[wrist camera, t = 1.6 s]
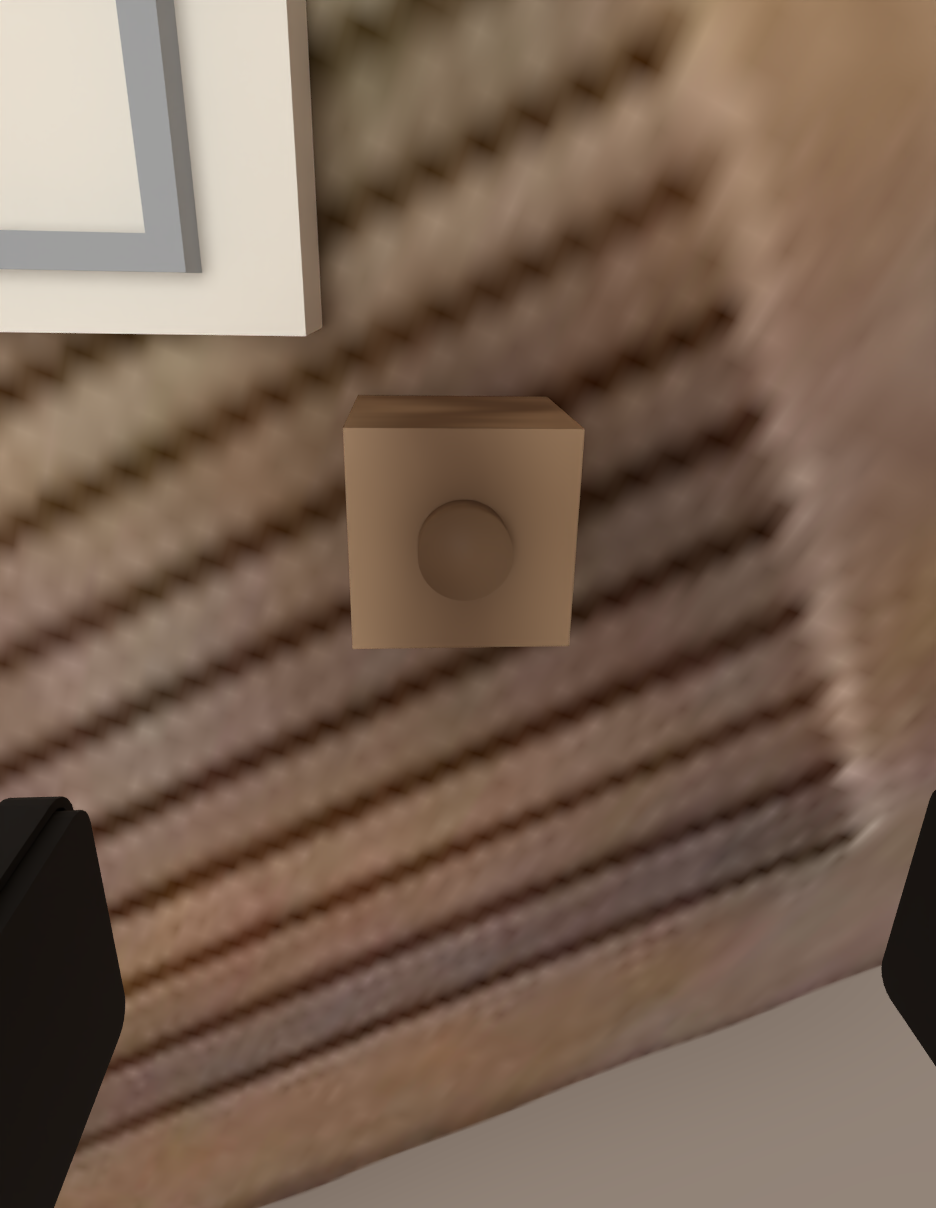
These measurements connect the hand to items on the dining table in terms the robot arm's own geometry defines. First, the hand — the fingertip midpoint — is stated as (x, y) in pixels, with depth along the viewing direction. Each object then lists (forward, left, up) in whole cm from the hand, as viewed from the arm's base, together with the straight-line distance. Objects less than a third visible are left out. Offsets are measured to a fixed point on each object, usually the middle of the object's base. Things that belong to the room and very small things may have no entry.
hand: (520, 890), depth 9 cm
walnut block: (0, 0, -19) cm, 19 cm away
